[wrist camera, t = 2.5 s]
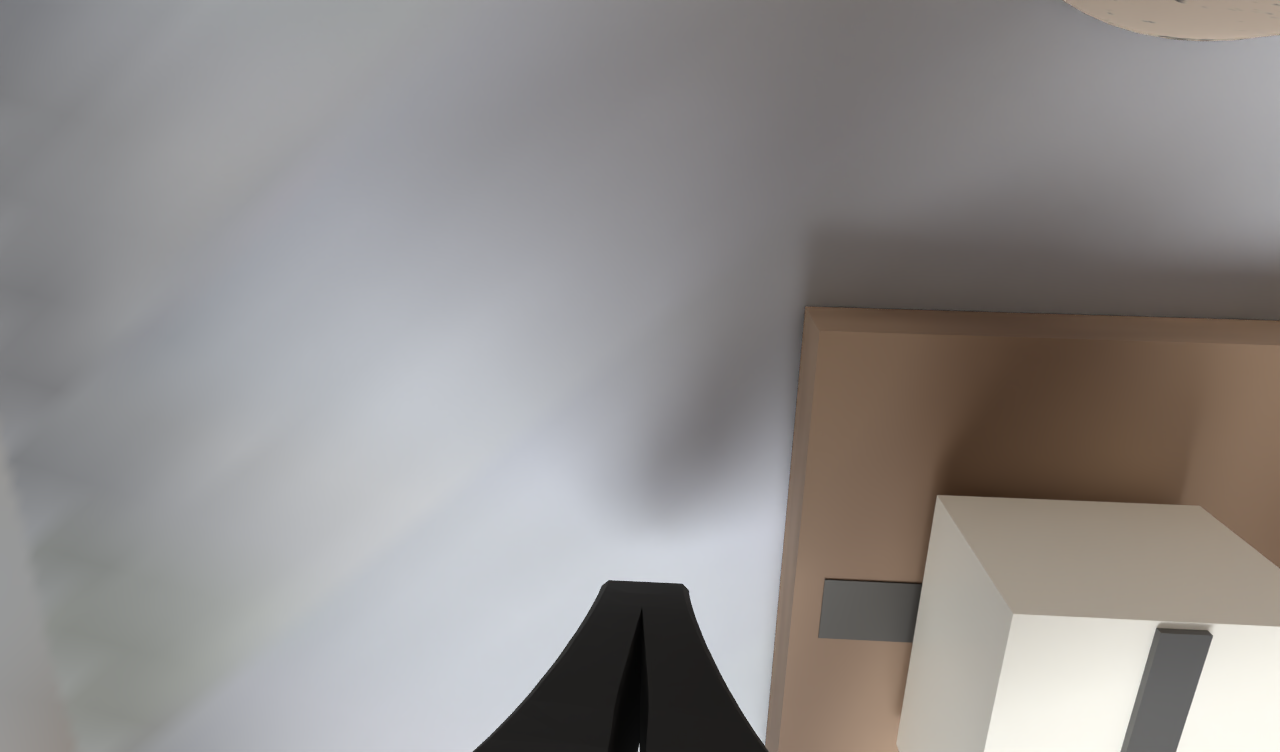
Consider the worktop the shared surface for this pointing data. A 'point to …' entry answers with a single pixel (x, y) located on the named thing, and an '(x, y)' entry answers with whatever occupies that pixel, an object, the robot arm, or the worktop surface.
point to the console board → (988, 469)
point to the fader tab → (1091, 632)
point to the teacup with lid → (1188, 17)
